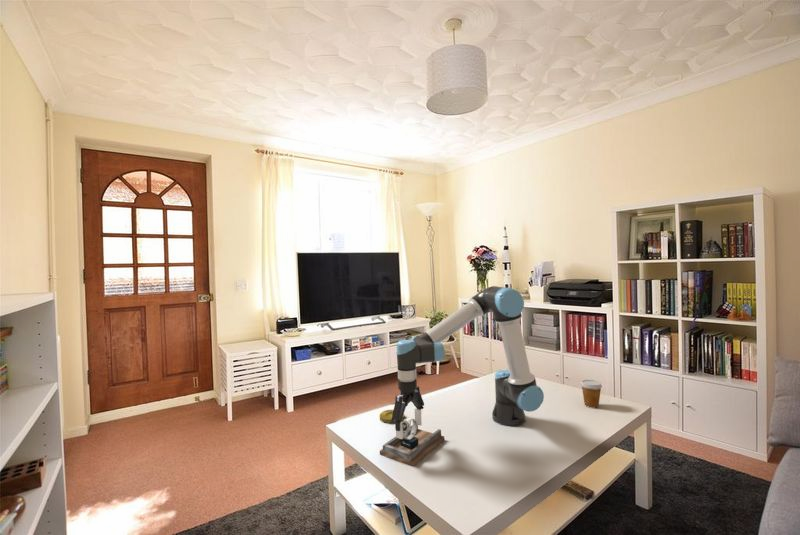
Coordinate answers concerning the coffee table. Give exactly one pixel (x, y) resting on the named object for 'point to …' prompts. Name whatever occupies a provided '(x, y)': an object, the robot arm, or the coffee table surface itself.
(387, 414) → the olive yellow flat disc
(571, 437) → the coffee table surface
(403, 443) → the watch
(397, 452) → the wooden tray
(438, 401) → the coffee table surface
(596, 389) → the disposable coffee cup
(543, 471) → the coffee table surface
